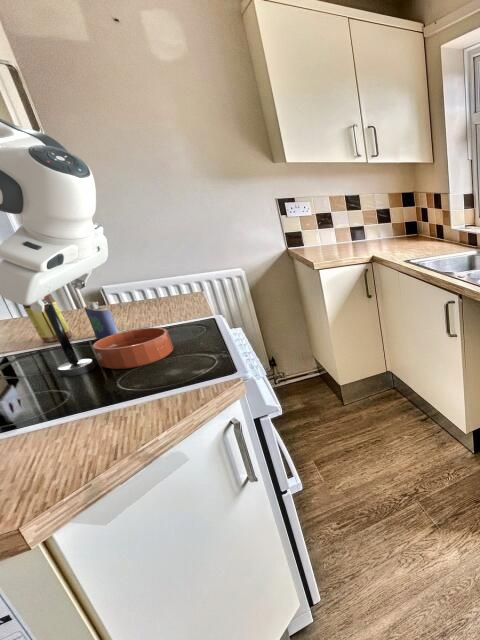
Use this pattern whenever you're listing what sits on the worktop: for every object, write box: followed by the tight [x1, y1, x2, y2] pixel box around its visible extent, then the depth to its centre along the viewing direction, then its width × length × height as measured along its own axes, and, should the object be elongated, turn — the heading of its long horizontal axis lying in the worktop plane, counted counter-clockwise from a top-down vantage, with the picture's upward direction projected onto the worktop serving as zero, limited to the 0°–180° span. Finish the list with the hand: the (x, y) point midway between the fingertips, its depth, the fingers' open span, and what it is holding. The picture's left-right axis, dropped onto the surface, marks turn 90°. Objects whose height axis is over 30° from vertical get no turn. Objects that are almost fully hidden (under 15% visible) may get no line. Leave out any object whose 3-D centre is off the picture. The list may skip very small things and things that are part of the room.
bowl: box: [92, 327, 174, 370], centre depth 106 cm, size 14×14×6 cm
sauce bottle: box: [22, 293, 73, 343], centre depth 116 cm, size 6×6×20 cm
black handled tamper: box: [45, 301, 96, 378], centre depth 97 cm, size 6×6×17 cm
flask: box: [84, 301, 120, 340], centre depth 118 cm, size 9×3×11 cm, turn 68°
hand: (60, 297), depth 83 cm, fingers open, 8 cm apart
